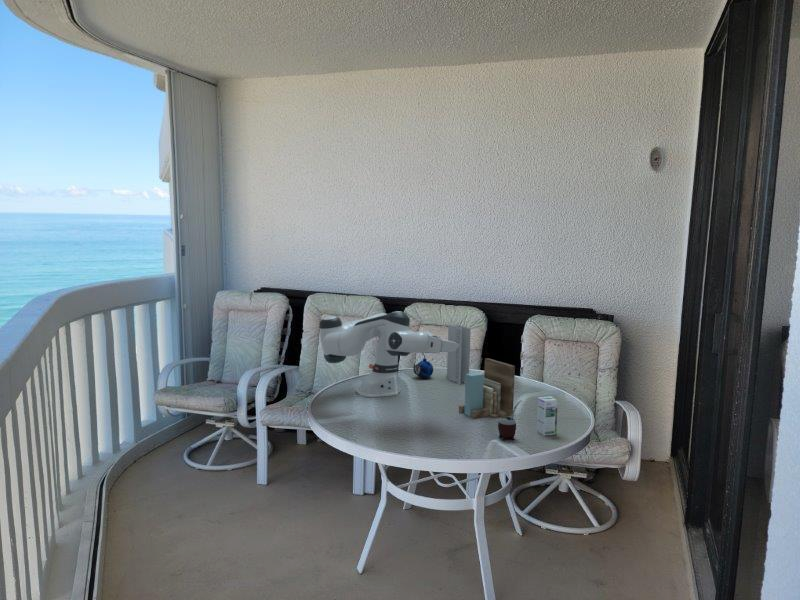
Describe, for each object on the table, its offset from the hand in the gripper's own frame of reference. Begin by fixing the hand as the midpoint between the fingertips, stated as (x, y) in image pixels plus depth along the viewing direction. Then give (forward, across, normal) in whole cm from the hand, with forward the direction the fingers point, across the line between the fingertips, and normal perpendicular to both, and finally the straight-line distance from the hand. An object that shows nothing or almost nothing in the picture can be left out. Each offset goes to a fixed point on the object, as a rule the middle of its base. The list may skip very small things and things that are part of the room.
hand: (451, 343), depth 246 cm
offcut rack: (+22, +2, -30) cm, 37 cm away
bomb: (+36, -63, -29) cm, 78 cm away
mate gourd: (+8, +32, -32) cm, 46 cm away
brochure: (+48, -48, -27) cm, 74 cm away
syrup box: (+25, +36, -30) cm, 53 cm away
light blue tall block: (+17, +2, -31) cm, 35 cm away
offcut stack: (+24, +1, -29) cm, 37 cm away
